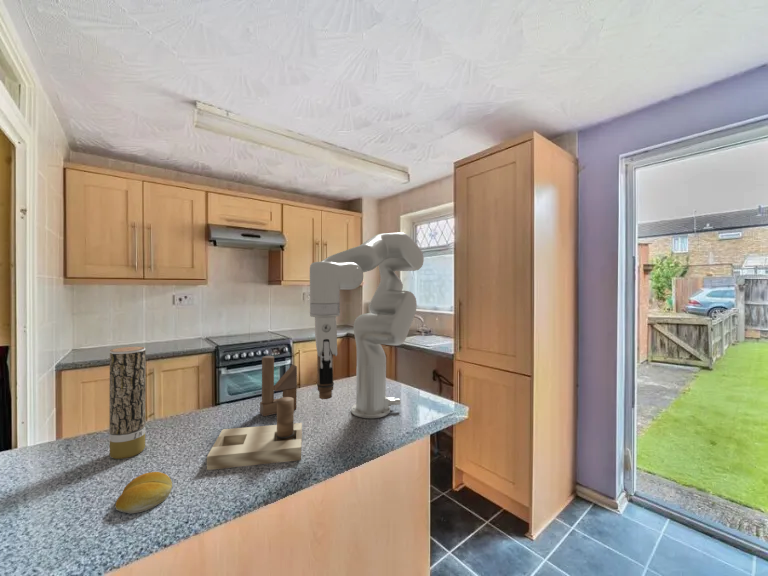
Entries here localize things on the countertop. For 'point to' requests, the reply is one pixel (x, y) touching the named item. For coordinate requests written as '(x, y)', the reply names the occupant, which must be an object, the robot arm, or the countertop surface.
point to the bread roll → (144, 492)
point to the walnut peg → (324, 389)
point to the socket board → (253, 447)
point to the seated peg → (285, 418)
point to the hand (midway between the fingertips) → (325, 380)
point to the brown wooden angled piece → (276, 386)
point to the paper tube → (127, 401)
